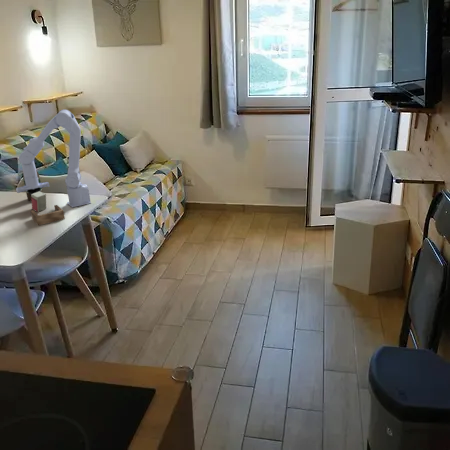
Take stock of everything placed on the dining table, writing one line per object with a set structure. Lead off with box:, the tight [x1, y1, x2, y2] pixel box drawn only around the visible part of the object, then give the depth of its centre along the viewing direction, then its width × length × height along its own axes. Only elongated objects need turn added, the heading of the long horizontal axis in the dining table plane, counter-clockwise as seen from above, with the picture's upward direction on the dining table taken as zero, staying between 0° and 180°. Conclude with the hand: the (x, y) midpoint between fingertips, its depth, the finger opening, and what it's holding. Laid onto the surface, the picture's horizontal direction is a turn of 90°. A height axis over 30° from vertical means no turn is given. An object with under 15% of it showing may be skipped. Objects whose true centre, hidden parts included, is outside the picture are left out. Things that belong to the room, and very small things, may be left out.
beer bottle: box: [22, 169, 44, 202], centre depth 236 cm, size 8×8×24 cm
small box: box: [31, 191, 47, 213], centre depth 223 cm, size 5×4×8 cm
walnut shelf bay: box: [30, 204, 66, 226], centre depth 213 cm, size 12×10×4 cm
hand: (36, 203), depth 228 cm, fingers closed
